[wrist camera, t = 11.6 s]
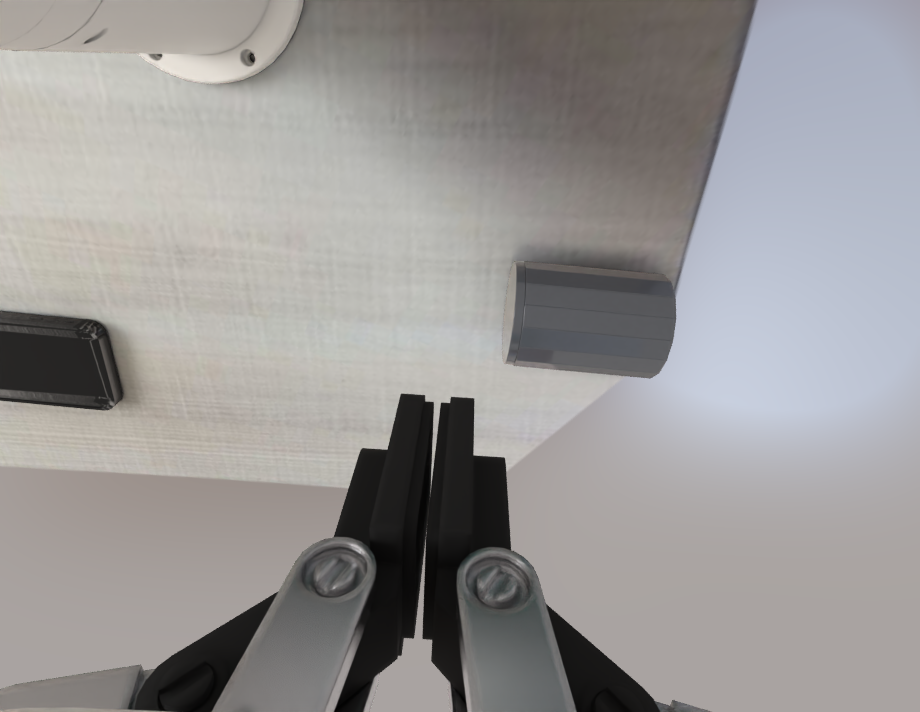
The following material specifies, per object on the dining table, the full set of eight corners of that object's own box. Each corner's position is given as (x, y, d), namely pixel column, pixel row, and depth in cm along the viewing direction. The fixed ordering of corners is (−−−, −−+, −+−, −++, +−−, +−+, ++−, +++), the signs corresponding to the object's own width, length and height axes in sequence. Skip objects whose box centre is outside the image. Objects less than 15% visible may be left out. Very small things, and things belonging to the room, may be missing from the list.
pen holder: (504, 383, 35) (655, 397, 35) (519, 283, 32) (686, 299, 32) (500, 335, 41) (629, 347, 41) (512, 247, 38) (653, 260, 38)
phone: (117, 411, 44) (-67, 394, 44) (125, 404, 45) (-55, 387, 45) (95, 326, 41) (-107, 306, 40) (104, 320, 42) (-93, 301, 41)
